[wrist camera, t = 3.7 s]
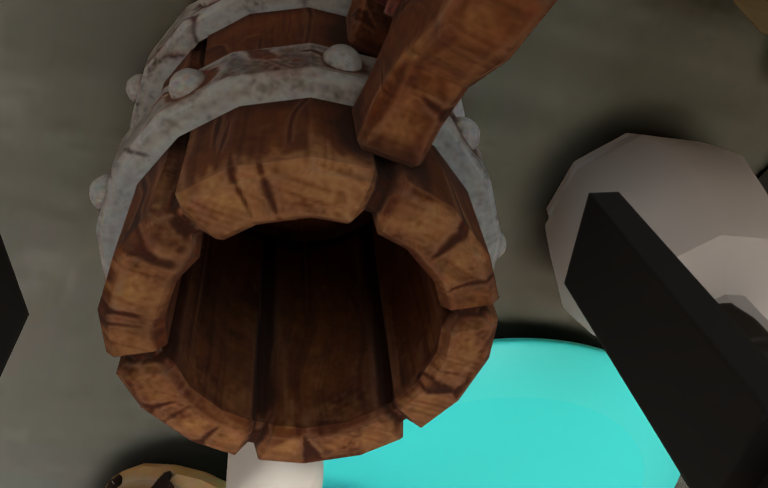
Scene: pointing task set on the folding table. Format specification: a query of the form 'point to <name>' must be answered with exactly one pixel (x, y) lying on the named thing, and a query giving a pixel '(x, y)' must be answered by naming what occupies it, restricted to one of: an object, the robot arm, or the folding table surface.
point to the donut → (164, 477)
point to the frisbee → (524, 430)
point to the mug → (306, 221)
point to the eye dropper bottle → (270, 472)
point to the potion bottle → (675, 213)
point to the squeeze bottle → (755, 12)
